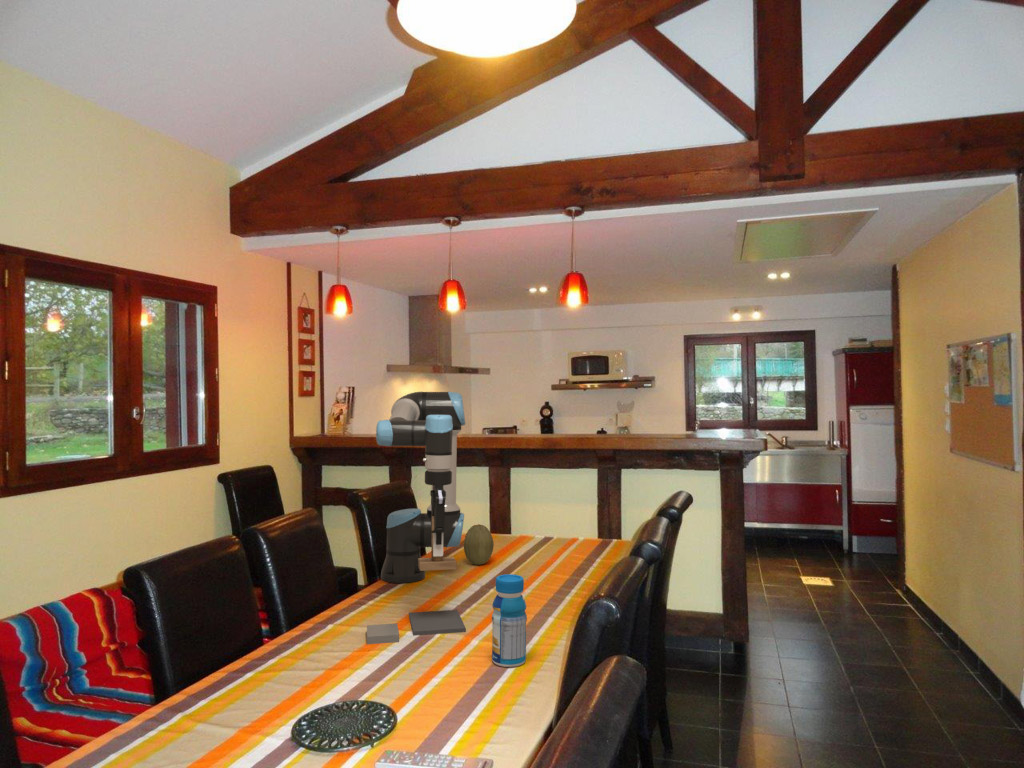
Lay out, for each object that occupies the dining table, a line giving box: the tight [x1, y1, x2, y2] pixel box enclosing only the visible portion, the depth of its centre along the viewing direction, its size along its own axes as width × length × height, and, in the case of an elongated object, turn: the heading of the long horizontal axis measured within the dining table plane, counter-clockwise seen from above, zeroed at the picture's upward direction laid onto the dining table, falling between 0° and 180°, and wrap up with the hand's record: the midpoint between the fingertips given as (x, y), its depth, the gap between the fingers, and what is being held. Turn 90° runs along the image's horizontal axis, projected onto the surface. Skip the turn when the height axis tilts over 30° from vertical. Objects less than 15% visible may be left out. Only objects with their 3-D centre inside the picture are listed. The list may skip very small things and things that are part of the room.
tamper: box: [418, 516, 458, 572], centre depth 189 cm, size 6×10×14 cm, turn 103°
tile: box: [366, 622, 400, 645], centre depth 178 cm, size 2×8×9 cm
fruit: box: [463, 523, 495, 566], centre depth 257 cm, size 11×11×15 cm
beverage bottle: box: [491, 573, 528, 668], centre depth 163 cm, size 8×8×20 cm
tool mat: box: [408, 609, 467, 636], centre depth 189 cm, size 16×14×1 cm
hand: (437, 554), depth 189 cm, fingers closed on tamper, 3 cm apart
